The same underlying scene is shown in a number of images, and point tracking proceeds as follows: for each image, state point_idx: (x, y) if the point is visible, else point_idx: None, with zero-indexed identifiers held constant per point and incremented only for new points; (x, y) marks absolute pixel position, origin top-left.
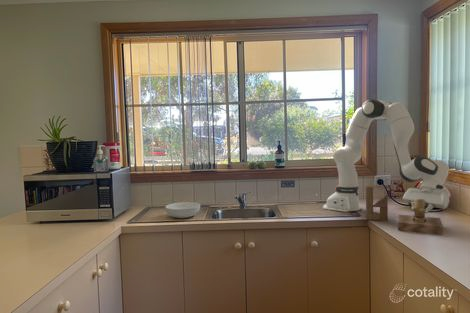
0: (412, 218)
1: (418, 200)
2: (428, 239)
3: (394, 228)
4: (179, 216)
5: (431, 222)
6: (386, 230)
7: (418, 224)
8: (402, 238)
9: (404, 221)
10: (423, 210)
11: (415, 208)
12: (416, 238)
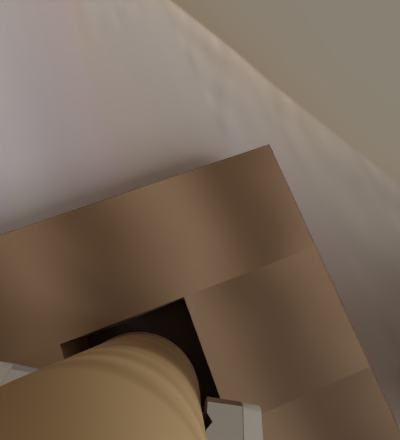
0: None
1: (49, 383)
2: (12, 109)
3: None
4: None
5: None
6: (318, 130)
7: (98, 203)
8: (155, 29)
9: (241, 220)
10: None
11: (163, 356)
12: (84, 82)
